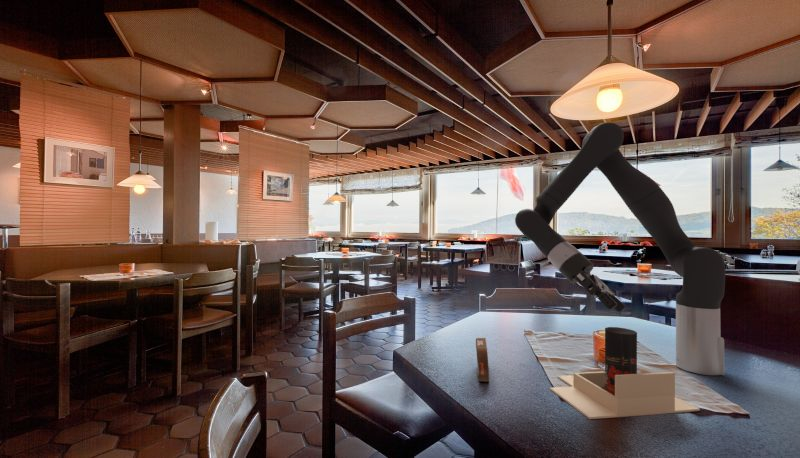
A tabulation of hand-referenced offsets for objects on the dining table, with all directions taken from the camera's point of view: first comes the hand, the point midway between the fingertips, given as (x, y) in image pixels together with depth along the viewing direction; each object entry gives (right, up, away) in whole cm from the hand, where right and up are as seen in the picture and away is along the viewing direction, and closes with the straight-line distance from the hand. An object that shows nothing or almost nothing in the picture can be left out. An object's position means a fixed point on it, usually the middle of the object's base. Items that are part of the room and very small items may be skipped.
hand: (618, 308), depth 85 cm
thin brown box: (-32, -18, +4) cm, 37 cm away
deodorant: (-5, -18, -9) cm, 21 cm away
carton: (-6, -18, -6) cm, 20 cm away
